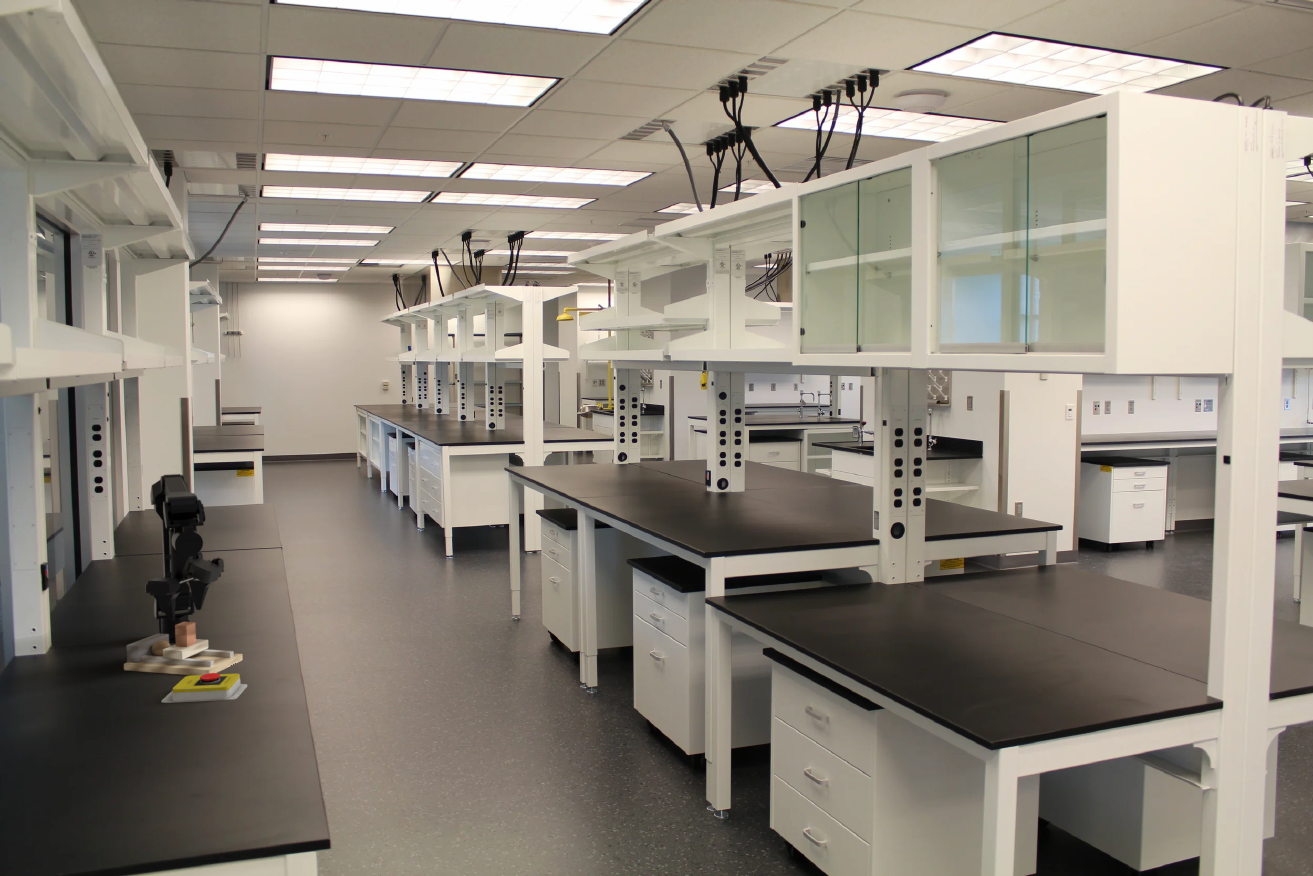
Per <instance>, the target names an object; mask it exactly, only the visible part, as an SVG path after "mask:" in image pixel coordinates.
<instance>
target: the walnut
mask: <svg viewBox="0 0 1313 876" xmlns="http://www.w3.org/2000/svg"><path fill="white" fill-rule="evenodd" d="M170 643H171V642H167V641H165V640H160V641H157V642H156V643H155V644H154V645H153V646H152V653H153V655H154V656H160V657H163V649H166V648H168V647H171V646H172V645H171V644H170Z"/></svg>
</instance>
